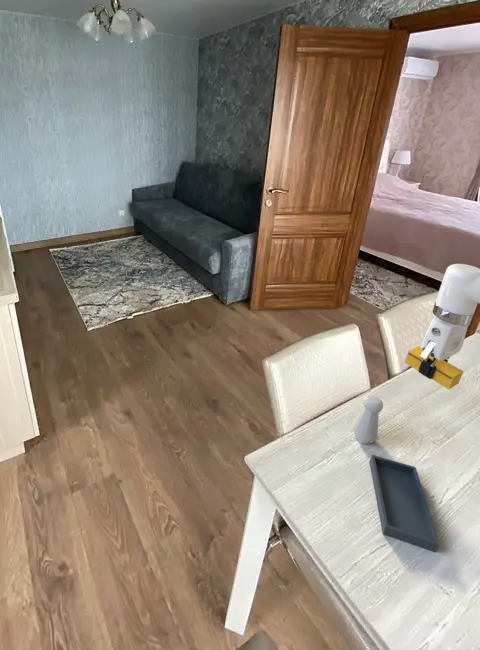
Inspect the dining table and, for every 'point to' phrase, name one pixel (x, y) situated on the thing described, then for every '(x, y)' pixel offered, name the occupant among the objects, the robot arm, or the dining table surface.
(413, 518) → the tray
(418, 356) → the block
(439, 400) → the dining table surface
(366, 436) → the salt shaker
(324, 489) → the dining table surface
